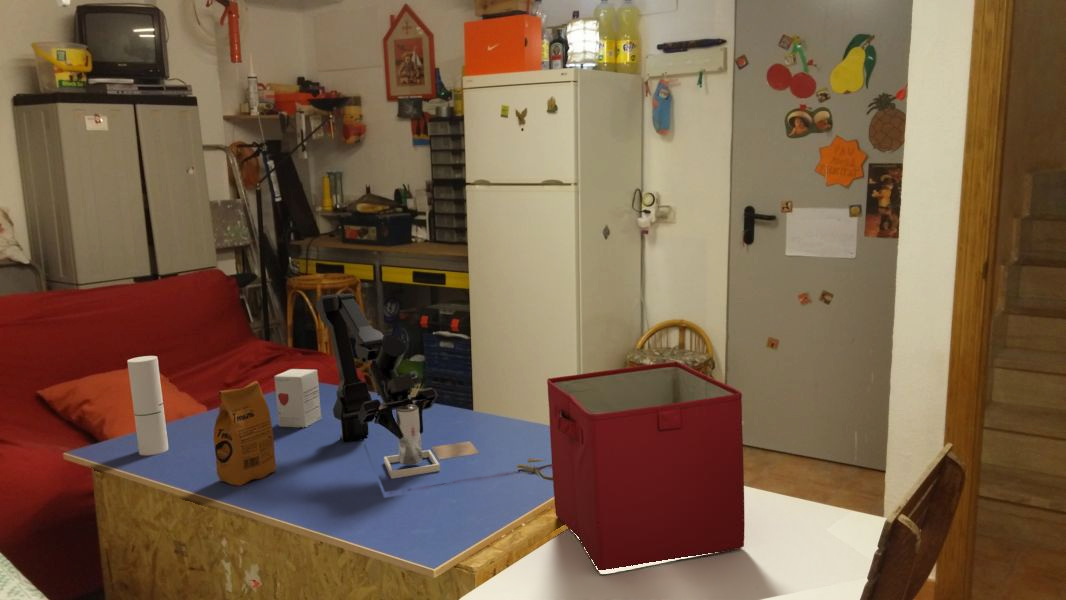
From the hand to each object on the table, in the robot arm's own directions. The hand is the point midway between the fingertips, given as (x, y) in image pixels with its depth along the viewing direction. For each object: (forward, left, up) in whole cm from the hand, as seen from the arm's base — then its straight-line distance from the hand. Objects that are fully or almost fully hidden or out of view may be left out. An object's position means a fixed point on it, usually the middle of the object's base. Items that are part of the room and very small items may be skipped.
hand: (411, 435), depth 192 cm
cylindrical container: (-61, +47, -9) cm, 78 cm away
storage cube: (+35, -52, -9) cm, 63 cm away
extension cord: (+30, -13, -10) cm, 35 cm away
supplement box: (-23, +55, -9) cm, 61 cm away
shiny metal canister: (0, +1, -6) cm, 7 cm away
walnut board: (+12, +8, -9) cm, 17 cm away
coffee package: (-37, +15, -9) cm, 41 cm away
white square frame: (0, +1, -9) cm, 9 cm away
